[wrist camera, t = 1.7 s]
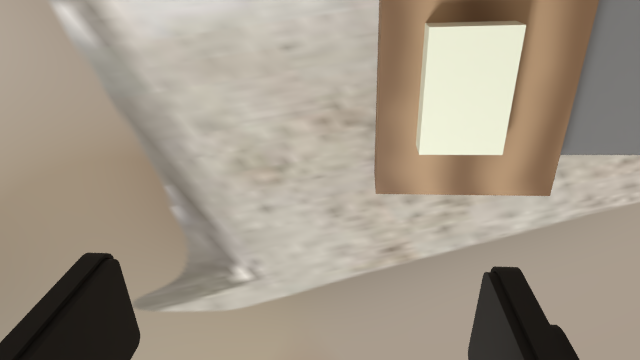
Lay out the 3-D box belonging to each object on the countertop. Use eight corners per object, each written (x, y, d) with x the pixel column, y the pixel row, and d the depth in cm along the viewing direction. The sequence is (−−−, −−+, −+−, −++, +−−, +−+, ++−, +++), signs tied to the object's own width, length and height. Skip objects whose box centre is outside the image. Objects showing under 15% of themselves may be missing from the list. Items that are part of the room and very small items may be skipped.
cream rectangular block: (516, 20, 28) (526, 24, 26) (494, 144, 32) (502, 155, 31) (425, 23, 29) (429, 27, 27) (415, 144, 33) (418, 154, 31)
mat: (723, -63, 28) (727, -64, 28) (646, 153, 36) (648, 154, 35) (583, -58, 29) (585, -58, 29) (536, 153, 37) (537, 154, 36)
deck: (599, -128, 27) (634, -141, 24) (532, 173, 38) (549, 195, 34) (382, -116, 29) (385, -126, 25) (374, 172, 39) (375, 193, 35)
